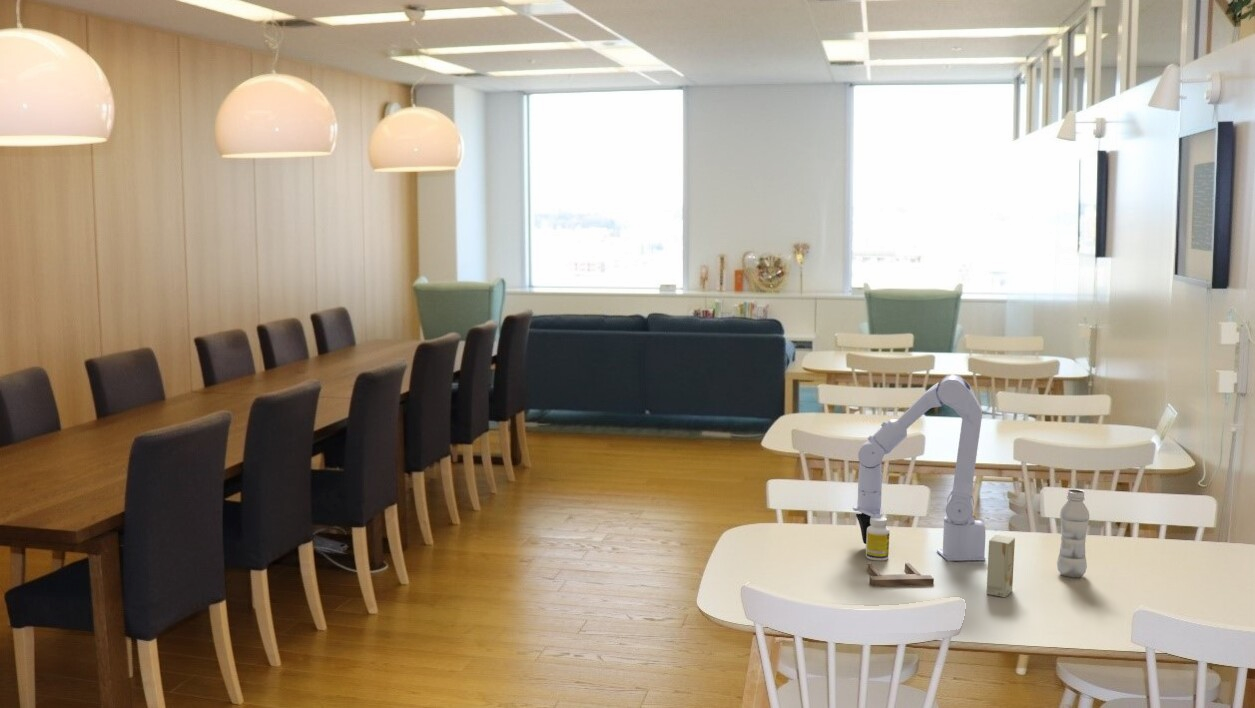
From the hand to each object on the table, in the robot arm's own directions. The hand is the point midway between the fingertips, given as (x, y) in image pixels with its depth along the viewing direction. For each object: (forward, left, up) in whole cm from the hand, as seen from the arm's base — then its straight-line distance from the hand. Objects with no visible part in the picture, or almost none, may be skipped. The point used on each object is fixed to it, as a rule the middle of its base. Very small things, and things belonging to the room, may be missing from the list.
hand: (868, 543), depth 290 cm
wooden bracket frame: (0, +23, -1) cm, 23 cm away
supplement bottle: (0, +8, -1) cm, 8 cm away
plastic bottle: (-41, +24, -1) cm, 48 cm away
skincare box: (-20, +34, -1) cm, 39 cm away
